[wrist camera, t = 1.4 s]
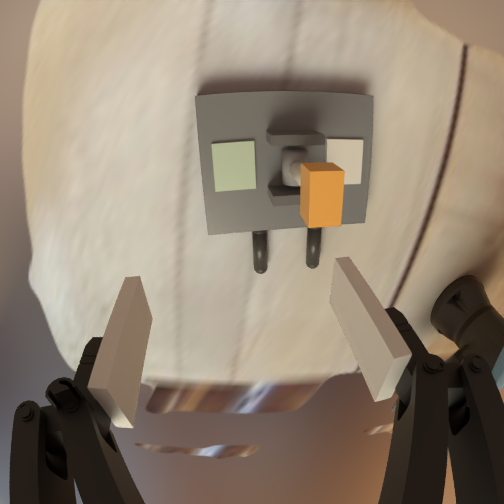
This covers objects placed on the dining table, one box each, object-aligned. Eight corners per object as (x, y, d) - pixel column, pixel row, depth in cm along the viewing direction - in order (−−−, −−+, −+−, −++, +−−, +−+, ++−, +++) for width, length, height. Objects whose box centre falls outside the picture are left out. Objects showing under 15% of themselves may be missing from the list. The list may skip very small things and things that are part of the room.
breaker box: (363, 94, 36) (388, 97, 29) (351, 259, 48) (368, 284, 42) (196, 95, 34) (192, 96, 28) (214, 273, 47) (214, 301, 41)
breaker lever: (304, 143, 35) (344, 170, 24) (303, 182, 38) (340, 225, 26) (279, 144, 35) (310, 171, 24) (280, 183, 37) (308, 228, 26)
